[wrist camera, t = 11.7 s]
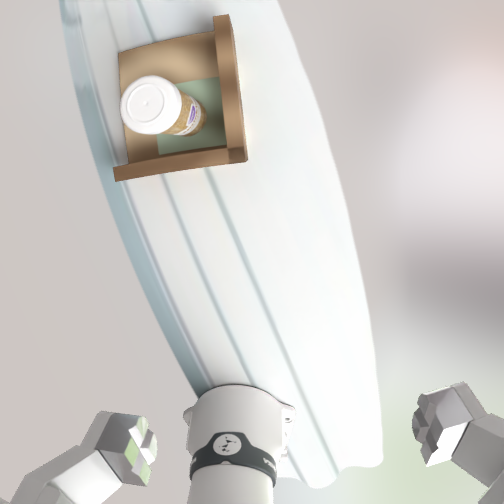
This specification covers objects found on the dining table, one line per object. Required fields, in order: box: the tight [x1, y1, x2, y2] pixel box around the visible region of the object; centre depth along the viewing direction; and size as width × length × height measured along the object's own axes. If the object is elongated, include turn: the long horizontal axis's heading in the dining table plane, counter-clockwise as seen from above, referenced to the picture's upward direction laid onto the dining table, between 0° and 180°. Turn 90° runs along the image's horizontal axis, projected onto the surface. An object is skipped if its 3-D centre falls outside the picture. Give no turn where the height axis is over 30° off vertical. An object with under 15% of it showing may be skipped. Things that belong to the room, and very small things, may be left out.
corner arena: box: [113, 14, 248, 182], centre depth 31 cm, size 16×14×5 cm
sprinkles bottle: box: [120, 75, 207, 137], centre depth 27 cm, size 5×5×13 cm
